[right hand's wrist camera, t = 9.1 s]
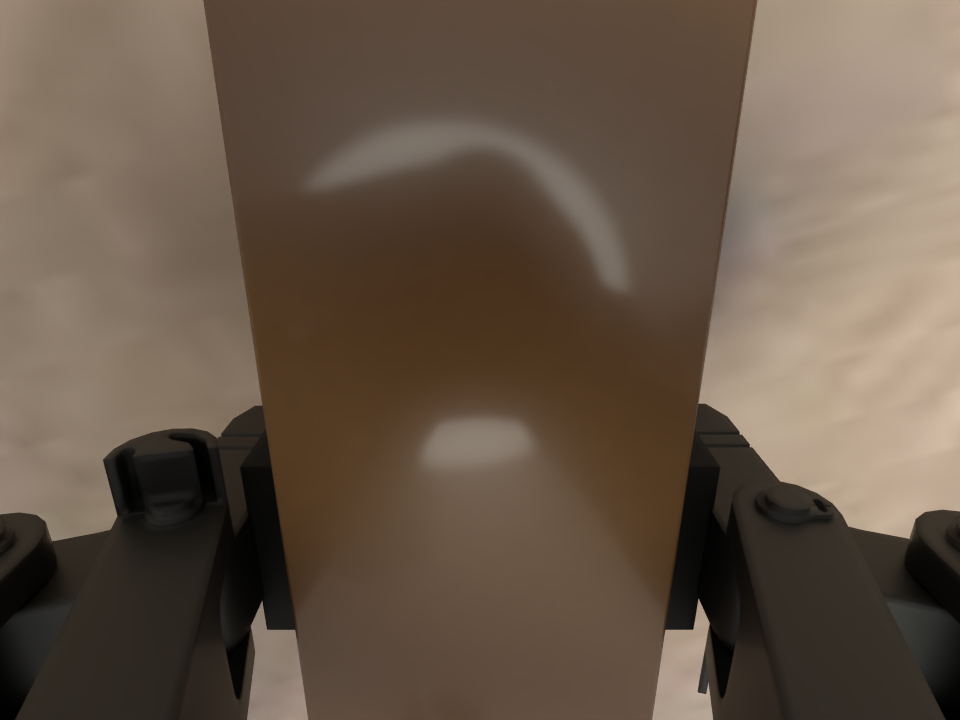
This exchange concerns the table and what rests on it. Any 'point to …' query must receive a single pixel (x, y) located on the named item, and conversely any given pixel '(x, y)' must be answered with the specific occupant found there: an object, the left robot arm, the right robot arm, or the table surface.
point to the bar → (480, 331)
